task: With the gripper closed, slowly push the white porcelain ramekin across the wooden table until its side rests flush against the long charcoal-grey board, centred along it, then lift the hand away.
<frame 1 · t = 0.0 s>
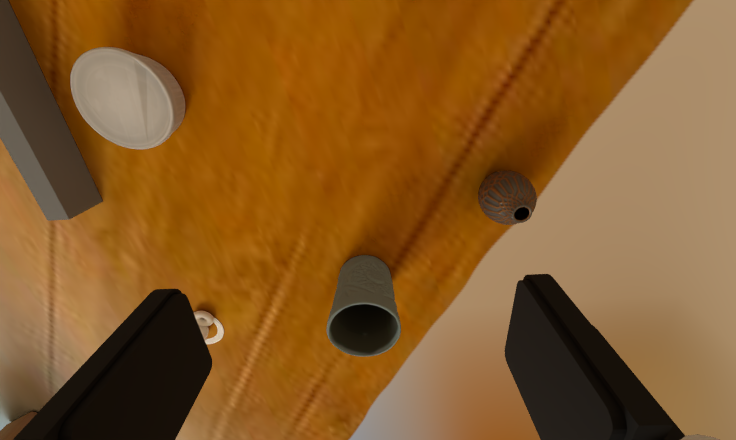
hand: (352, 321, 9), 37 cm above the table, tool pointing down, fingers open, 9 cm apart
ramekin: (151, 96, 42), on the table
vase: (496, 187, 47), on the table
drinking glass: (365, 276, 54), on the table
teacup and saucer: (219, 324, 60), on the table
board: (45, 103, 42), on the table
wooden block: (41, 425, 75), on the table
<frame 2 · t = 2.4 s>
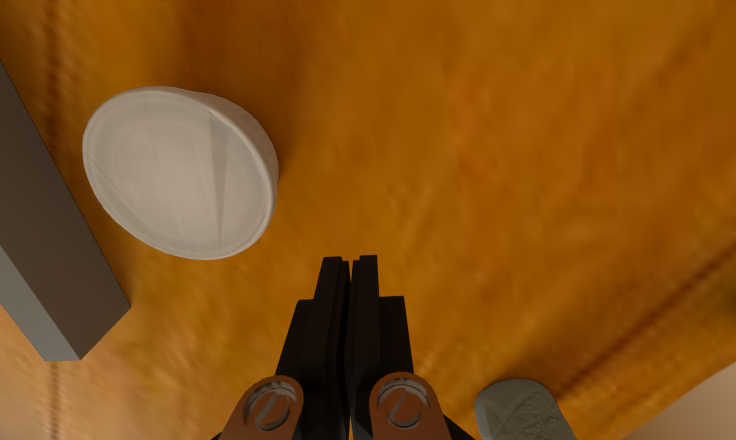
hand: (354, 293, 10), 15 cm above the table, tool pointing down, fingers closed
ramekin: (218, 159, 24), on the table
drinking glass: (511, 402, 37), on the table
board: (39, 169, 25), on the table
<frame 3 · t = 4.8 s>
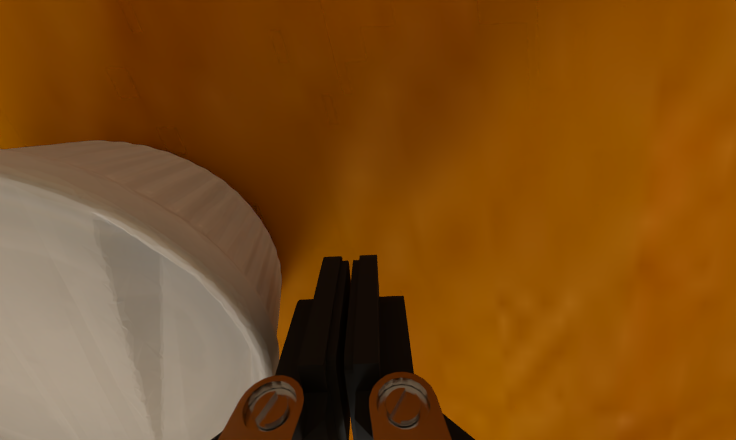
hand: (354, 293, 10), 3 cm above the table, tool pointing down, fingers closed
ramekin: (170, 253, 13), on the table, touching gripper
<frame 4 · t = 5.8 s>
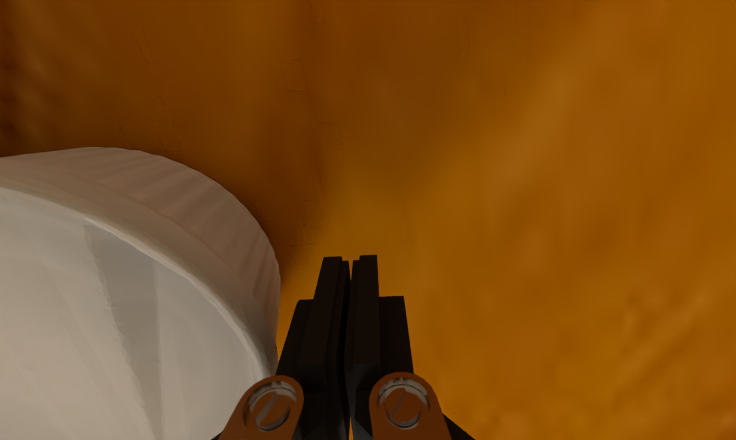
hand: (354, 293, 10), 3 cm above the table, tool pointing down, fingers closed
ramekin: (169, 258, 13), on the table, touching gripper
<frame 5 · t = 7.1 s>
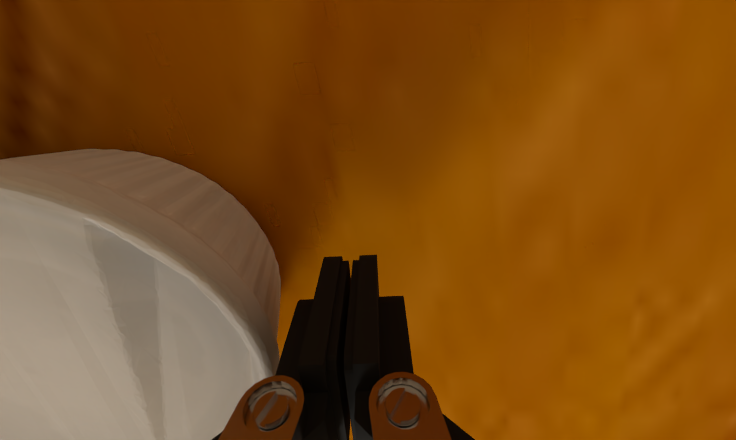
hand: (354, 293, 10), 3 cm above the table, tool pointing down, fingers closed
ramekin: (168, 260, 13), on the table, touching board, gripper
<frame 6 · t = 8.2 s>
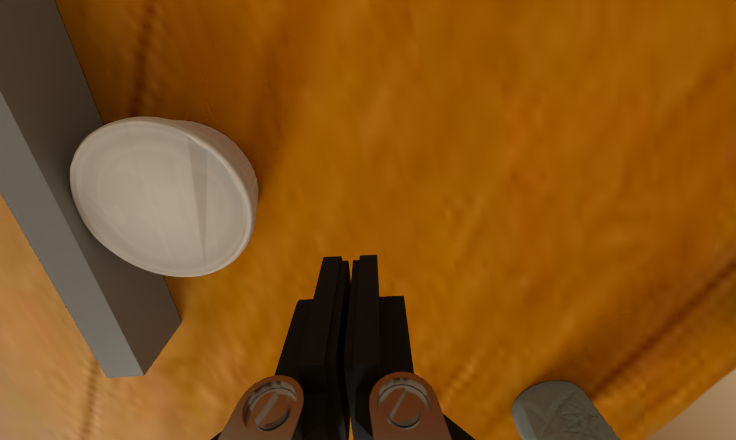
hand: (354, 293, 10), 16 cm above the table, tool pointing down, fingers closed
ramekin: (201, 181, 26), on the table
drinking glass: (546, 404, 38), on the table
board: (108, 187, 25), on the table
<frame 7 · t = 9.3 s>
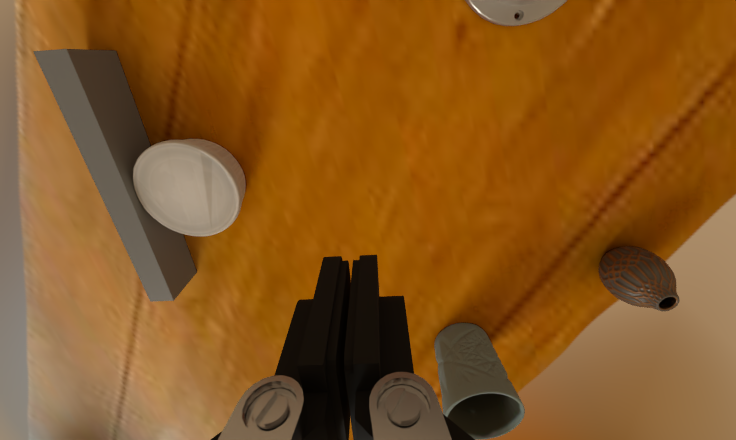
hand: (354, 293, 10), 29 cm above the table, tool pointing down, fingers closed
ramekin: (209, 176, 40), on the table
vase: (614, 259, 44), on the table
drinking glass: (460, 342, 52), on the table
board: (151, 179, 39), on the table
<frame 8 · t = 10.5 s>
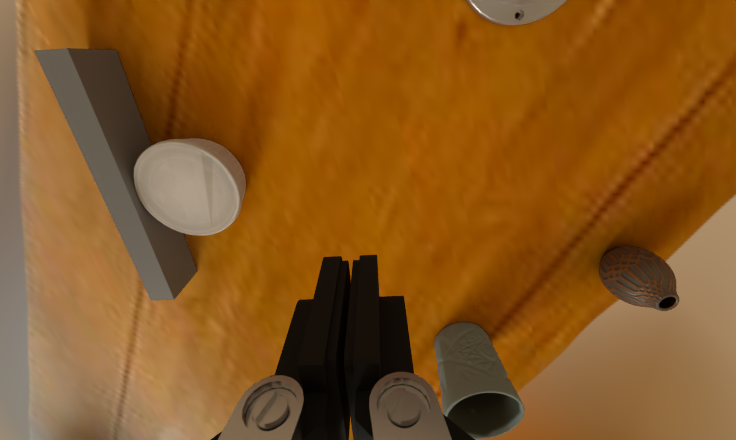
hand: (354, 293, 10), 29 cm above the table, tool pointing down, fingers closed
ramekin: (209, 175, 40), on the table
vase: (614, 258, 44), on the table
drinking glass: (460, 341, 52), on the table
board: (151, 178, 40), on the table
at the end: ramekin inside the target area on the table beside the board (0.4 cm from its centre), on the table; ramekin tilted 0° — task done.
